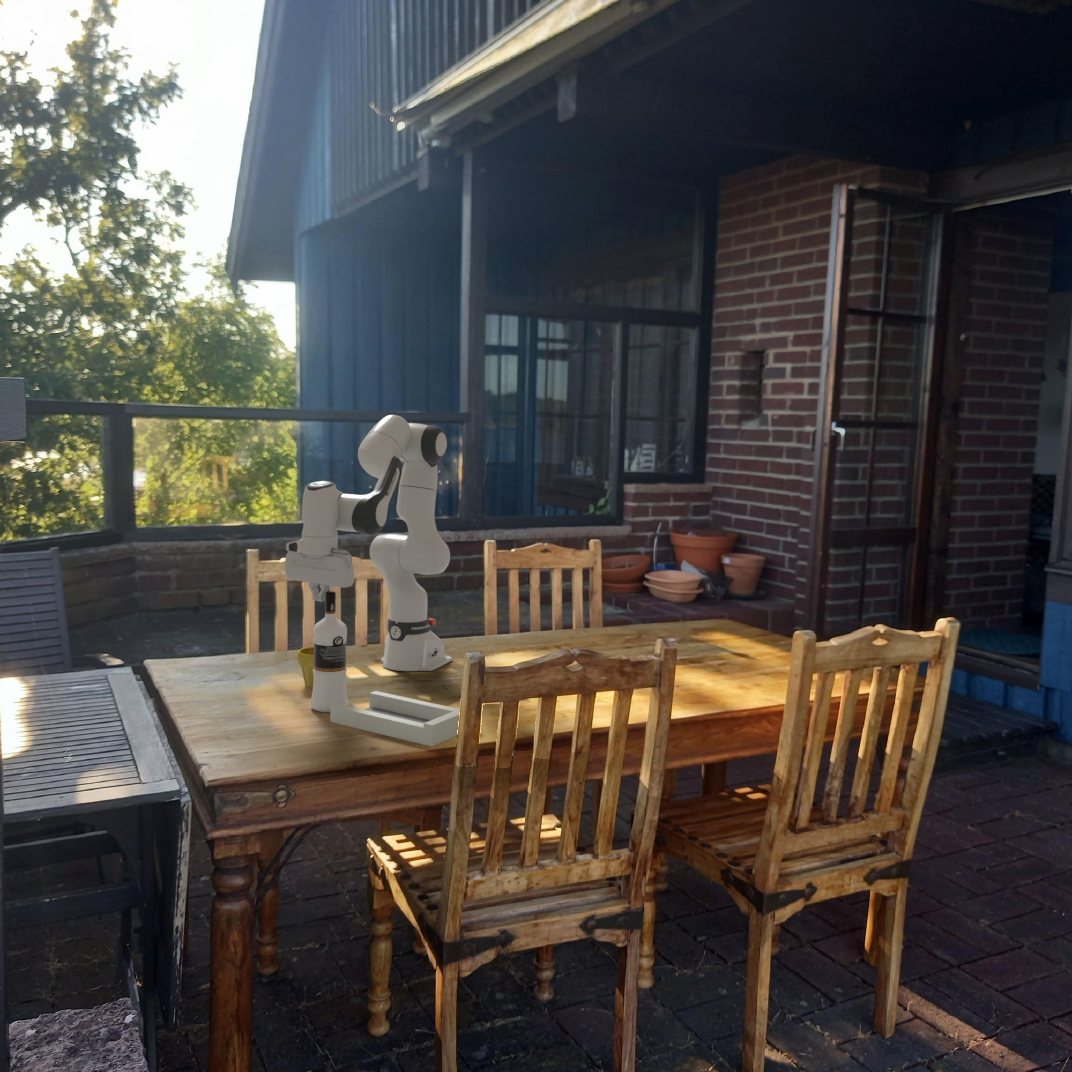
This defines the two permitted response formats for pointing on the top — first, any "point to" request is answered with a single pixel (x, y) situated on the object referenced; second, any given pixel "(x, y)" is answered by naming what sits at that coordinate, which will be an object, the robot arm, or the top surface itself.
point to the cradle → (401, 718)
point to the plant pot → (307, 664)
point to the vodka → (329, 659)
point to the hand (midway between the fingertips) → (319, 600)
